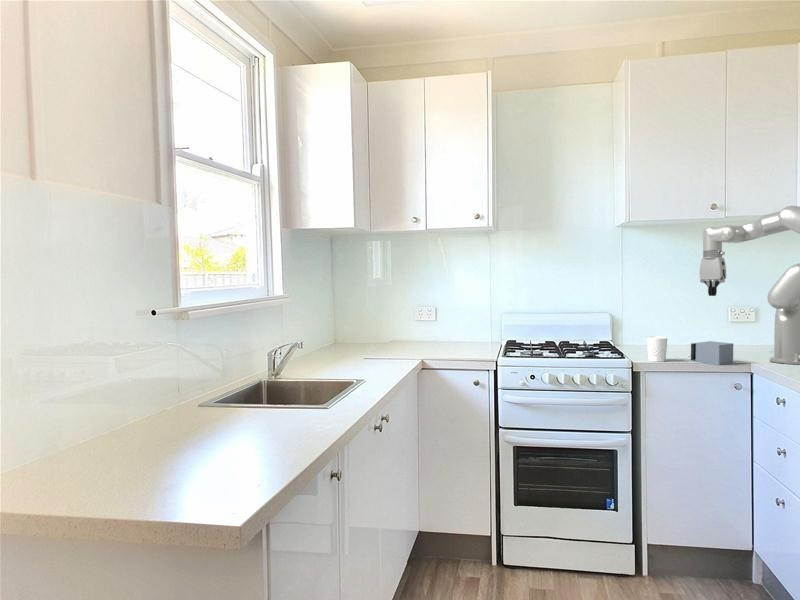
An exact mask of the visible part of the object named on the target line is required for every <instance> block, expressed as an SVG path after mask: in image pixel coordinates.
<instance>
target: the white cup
mask: <svg viewBox="0 0 800 600" xmlns="http://www.w3.org/2000/svg"><path fill="white" fill-rule="evenodd" d="M646 341H647V343H646V344H647V345H646V346H647V348H646V349H647V356H648V357H647V358H648V362H654V363H663V362H664V363H665V362H666V360H667V348H668V337H666V336H660V335H659V336H656V335H655V336H654V335H653V336H651V335H649V336H647V337H646Z"/></svg>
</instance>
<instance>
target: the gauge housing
mask: <svg viewBox="0 0 800 600" xmlns="http://www.w3.org/2000/svg"><path fill="white" fill-rule="evenodd" d="M695 343H696V360H695V363H701V364H707V365H708V364H709V365H713V366H714V365H715V366H722V365H729V364H733V363H734V343H731V342H720V341H713V340H712V341H711V340H708V341H701V342H695ZM687 356H691V354H687Z"/></svg>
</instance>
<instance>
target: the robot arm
mask: <svg viewBox="0 0 800 600" xmlns="http://www.w3.org/2000/svg"><path fill="white" fill-rule="evenodd" d="M786 231H793V232H795V233H798V234H800V205H799V206H798V205H790V206H789V205H788V206H785V207H784V208H782V209H781V210H780V211H775V212H771V213H767V214H764V215H762V216H760V218H758V219H757V220H755V221H752V222H747V223H743V224H740V225H731V224H729V225H722V226H710V227H709V226H708V227H705V228H704V229H703V231H702V232H703V233H702V258H701V261H700V266H699V279H700V281H699V282H700V283H701V284H705V285H706V287H707V294H708V296H709V297H716V296H717V292H718V291H717V287H718V286H719V285H720V284H724V283H726V279H727V267H726V266H727V265H726V260H725V257H723V256H724V255H726V254H725V253H726V252H725V251H723V243H728V244H730V243H731V244H732V243H733V244H737V243H744V242H748V241H752V240H756V239H760V238H763V237H767V236H771V235H774V234H775V235H776V234H779V233H782V232H786ZM767 302H768V304H769V305H770V306H771V307H772V308H774V309H775V315H774V334H773V335H774V341H773V342H774V343H773V344H774V347H773V357H770V358H769V362H772V363H776V364H785V365H787V364H788V365H789V364H790V365H800V263H795V264H793V265H791V266H789V268H787V269H786V270H785V271H784V272H783V274H782V275H781V276H780V277H779V278H778V280H777V281H776V282H775V283H774V284H773V285H772V287H771V288H770V290H769V291H768V293H767Z"/></svg>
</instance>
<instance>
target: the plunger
mask: <svg viewBox="0 0 800 600" xmlns="http://www.w3.org/2000/svg"><path fill="white" fill-rule="evenodd" d="M696 343H697V342H692V343H690V355H691V357H690V361H696Z"/></svg>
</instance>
